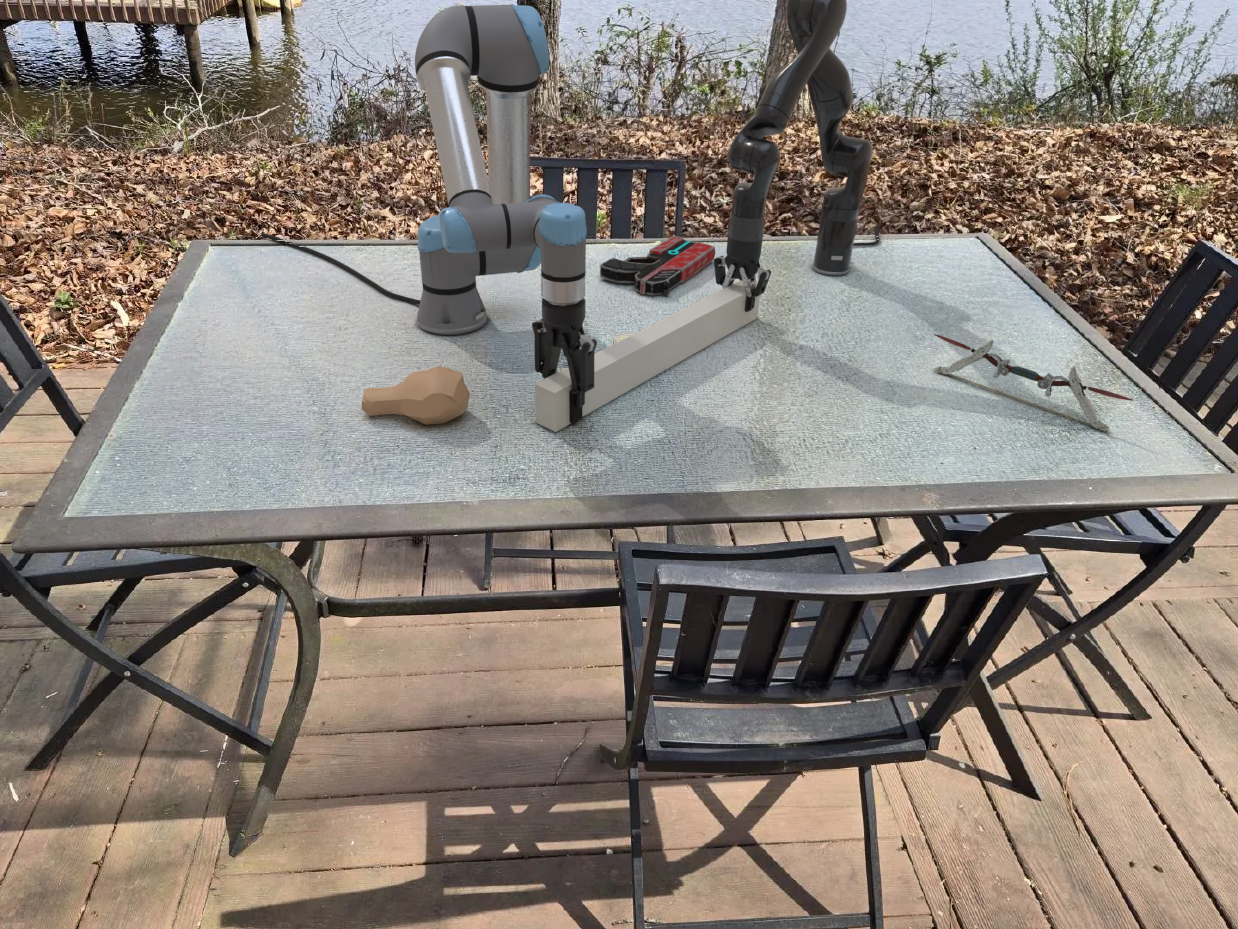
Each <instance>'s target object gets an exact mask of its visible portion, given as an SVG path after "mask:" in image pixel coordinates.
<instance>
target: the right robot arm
mask: <svg viewBox="0 0 1238 929" xmlns="http://www.w3.org/2000/svg"><path fill="white" fill-rule="evenodd" d="M785 10H786V11H785V18H786V19H785V20H786V24H787V29H788V31H789V34H790V37H791V39H792V43H793V45H794V47H795V50H796V52H797V55H796V56H794V58H792V59H791V60H790V61H788V63H786V65H784V66H783V67H782V68H781V69H780V70H779V71H778V72H776V74H775V75H773V77H772V78H771V80H770V81H769V82H768V84H767V85H766V87H765V89H764V92H763V93H762V95H761V97H760V100H759V102H758V104H757V107H756V109H755V111H754V113H753V114H752V116H751V117H750V118H749V119H748V120H747V122H746V123H745V124H744V126H743V127H742V128H741V129H740V130H739V132H738V133H737V134H736V136H735V137H734V139H733V140H732V142H731V143H730V146H729V149H728V153H727V154H728V155H727V157H728V158H727V159H728V164H729V166H730V167H731V168H732V169H733V170H734V171H737V172H740V173H745V174H749V175H754V178H753V180H752V182H743V183H739V184H737V185H736V186H735V187H734V189H733V193H732V204H731V213H730V217H729V222H728V229H727V230H728V231H727V240H726V250H725V251H726V252H725V253H726V256H724V255H720V256H717V257H716V258H715V257H714V260H713V267H714V277H715V283H716V285H720V286H721V287H722V289H724V288H726V287H728V286H730V285H732V284H734V283H735V281H736V280H738V281H740V280H741V281H743V285H744V287H745V288H746V293H747V296H746V302H745V311H746V312H749V311H751V310H752V309H753V308H754V306H755V297H757V296H759V295H760V296H761V295H763V294H764V293H765V292H766V290H767V286H768V283H769V280H770V278H771V275H772V271H771V270H770V269H765V268H762V267H761V262H760V258H761V256H762V255H761V254H762V248H763V238H764V230H765V212H766V204H767V196H768V193H769V190H770V188H771V185H772V182H773V180H774V177H775V174H776V172H777V170H778V167H779V164H780V161H781V152H780V149H779V146H778V145H777V143H776V142H774V141H772V140H768V139H763V138H765V137H767V136H773V135H774V136H775V135H779V134H782V133H783V132H784V131H785V130H786V127H787V125H788V123H789V121H790V119H791V117H792V114H793V111H794V110H795V107H796V105H797V103H798V101H799V99H800V97H801V94H802V93H803V91H804V89H805V87H806V86H807V92H808V96H809V100H810V104H811V107H812V109H813V114H814V118H815V122H816V127H817V132H818V137H819V138H818V139H819V147H820V154H821V162H822V165H823V168H824V170H825V171H826V173H829V174H831V175H834V176H839V177H842V178H846V182H845V185H843V186H839V187H837V186H836V187H832V188H829V189H827V190H825V192H824V195H823V199H822V207H821V213H820V219H819V225H818V226H819V227H818V233H817V238H816V243H815V244H816V246H815V252H814V256H813V257H814V259H813V263H812V269H813V271H815V272H817V273H818V274H822V275H825V276H832V277H833V276H837V277H838V276H844V275H846V274H848V273H849V272H850V266H851V260H852V255H853V250H854V247H868V246H875V245H877V244H878V243H879V242H880V236H879V234H880V230H881V229H882V228H883V224H882V223H881V222H880V223H879V224H878V225H877V228H876V231H875V235H874V236H875V239H876V240H875V241H870V242H855V238H856V232H857V228H858V221H859V216H860V210H861V204H862V200H863V197H864V194H865V191H866V190H865V189H866V186H867V181H868V177H869V172H870V169H871V164H872V159H873V157H872V156H873V145H872V143H871V141H870V140H867V139H863V138H858V137H854V136H853V137H852V136H848V135H844V134H843V133H842V130H841V126H840V125H841V123H842V121H843V120H844V118H845V117H846V116H847V115H848V113H849V111H850V109H851V107H852V104H853V100H854V93H853V86H852V83H851V77H850V74H849V73H850V72H849V71H848V69H847V67H846V65H845V64H844V63H843V61H842V60H841V58H839V57H838V55H837V54H836V53H835V52H834V51H833V50H832V49H831V46H833V43H834V41H835V40H836V39H837V37H838V35H839V33H840V31H841V30H842V27H843V25H844V22H845V19H846V16H847V11H848V3H847V0H787V1H786V8H785ZM876 236H879V237H876ZM877 239H879V240H877ZM726 268H727V270H726ZM756 274H757V276H756ZM757 279H758V280H757ZM756 283H757V286H756Z"/></svg>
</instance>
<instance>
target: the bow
mask: <svg viewBox="0 0 1238 929" xmlns="http://www.w3.org/2000/svg"><path fill="white" fill-rule="evenodd" d="M934 336H935V337H937V338H939V339H941V340H943V341H944V342H946V343H948V344H951V345H953V346H956V347H959V348H961V349H963V350H964V349H965V350H968V351H970V352H971V353H972V354H970V355H968V356H965V357H963V358H960V359H958V360H956V361H954V362H953V363H952V364H951V365H949V366H937V367H935V371H936V372H938V373H939V374H942V375H949V376H951V377H954V378H957V379H959V380H962V381H965V382H968V383H970V384H971V383H972V384H973V385H975V386H979V387H983V388H985V389H988V390H991V391H994V392H996V393H999V394H1002V395H1005V396H1007V397H1011V398H1013V399H1016V400H1019V401H1022V402H1024V403H1027V404H1030V405H1033V406H1036V407H1039V408H1041V409H1044V410H1047V411H1050V412H1053V413H1054V414H1059V415H1061V416H1064V417H1067V418H1069V419H1072V420H1075V421H1078V422H1081V423H1084V424H1087V425H1089V426H1092V427H1093V428H1095V429H1097V430H1099V431H1103V432H1107V431H1108V430H1109V429H1110V426H1108V425H1107V424H1105V423H1103V421H1101V420H1100V419H1098V415H1097V412H1096V409H1095V408H1094V405H1093V404H1092V402H1091V400H1090V399H1089V398H1088V396H1086V394H1085V390H1088V391H1090V392H1092V393H1096V394H1099V395H1102V396H1105V397H1110V398H1114V399H1118V400H1125V401H1130V402H1131V401H1132V402H1133V401H1134V399H1132V398H1131V397H1127V396H1124V395H1121V394H1118V393H1116V392H1112V391H1109V390H1105V389H1101V388H1098V387H1093V386H1087V385H1083V384H1082V380H1081V378H1080V376H1079V375H1078V373H1077V368H1076V366H1074V365H1073V366H1072V367H1071V368H1070V371H1069V374H1068V378H1067V377H1065V376H1062V375H1055V376H1054V375H1053V374H1051V373H1050V372H1047V374H1045V375H1044V376H1041V375H1040V374H1039V373H1038V372H1036V371H1035V370H1031V369H1029V368H1026V367H1022V366H1019V365H1013V366H1012V365H1010V363H1011V360H1010V359H1009V358H1008V359H1002V357H1000V355H998V354H996V353H992V352H991V353H989V352H990V351H991V350H992V347H993V344H994V339H991V340H990V341H989V342H987V343H986V344H984V345H983V346H980V347H979V348H977V349H975V348H971V347H970V346H969V345H967V344H964V343H963V342H962V343H961V342H959V341H957V340H954V339H951V338H949V337H946V336H943V335H939V334H936V333H934ZM983 359H985V360H987V361H988V363H990V364H991V365H992V366H993V367H995V368H996V369H995V371H994V372H993V375H992V377H991V378H992V379H995V380H997V379H998V378H999V376H1000V375H1001V376H1003V377H1007V375H1009V373H1010V374H1013V375H1015V376H1019V377H1021V378H1025V379H1027V380H1030V381H1034V382H1037V384H1036V385H1037V387H1038V388H1039V389H1041V390H1045V391H1044V397H1047V398H1050V397H1051V396H1052V391H1053V390H1052V387H1068V388H1069V389H1070V390H1071V392H1072V394H1073V396H1075V398H1076V400H1077V402H1078V404H1079V406H1080V408H1081V410H1082V412H1083V415H1084V416H1085V418H1086V419H1087V422H1086V421H1083V420H1081V419H1078V418H1075V417H1072V416H1071V415H1070V416H1069V415H1067V414H1064V413H1061V412H1057V411H1056V410H1052V409H1050V408H1047V407H1045V406H1042V405H1038V404H1035V403H1033V402H1030V401H1027V400H1025V399H1021V398H1019V397H1016V396H1014V395H1010V394H1007V393H1004V392H1002V391H999V390H996V389H993V388H991V387H987V386H985V385H983V384H979V383H976V382H974V381H971V380H968V379H965V378H963V377H960V376H957V375H954V374H953V373H955V372H959V371H961V370H962V369H964V368H965V367H968V366H970V365H971V364H973V363H976V362H978V361H980V360H983Z"/></svg>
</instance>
